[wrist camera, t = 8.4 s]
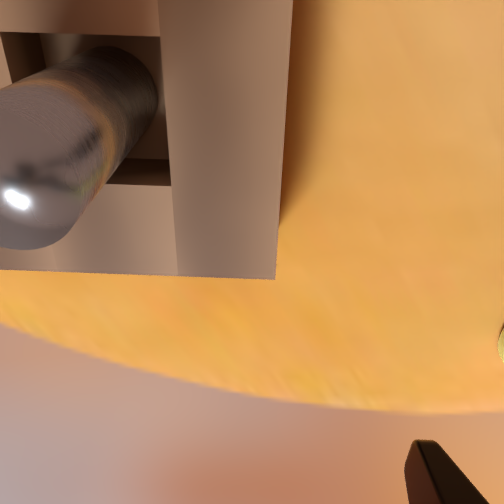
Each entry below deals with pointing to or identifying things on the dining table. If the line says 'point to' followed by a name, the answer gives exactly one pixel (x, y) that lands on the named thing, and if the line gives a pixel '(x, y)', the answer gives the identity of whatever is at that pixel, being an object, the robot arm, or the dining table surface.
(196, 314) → the dining table surface
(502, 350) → the tube
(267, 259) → the bore block
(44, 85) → the pin
